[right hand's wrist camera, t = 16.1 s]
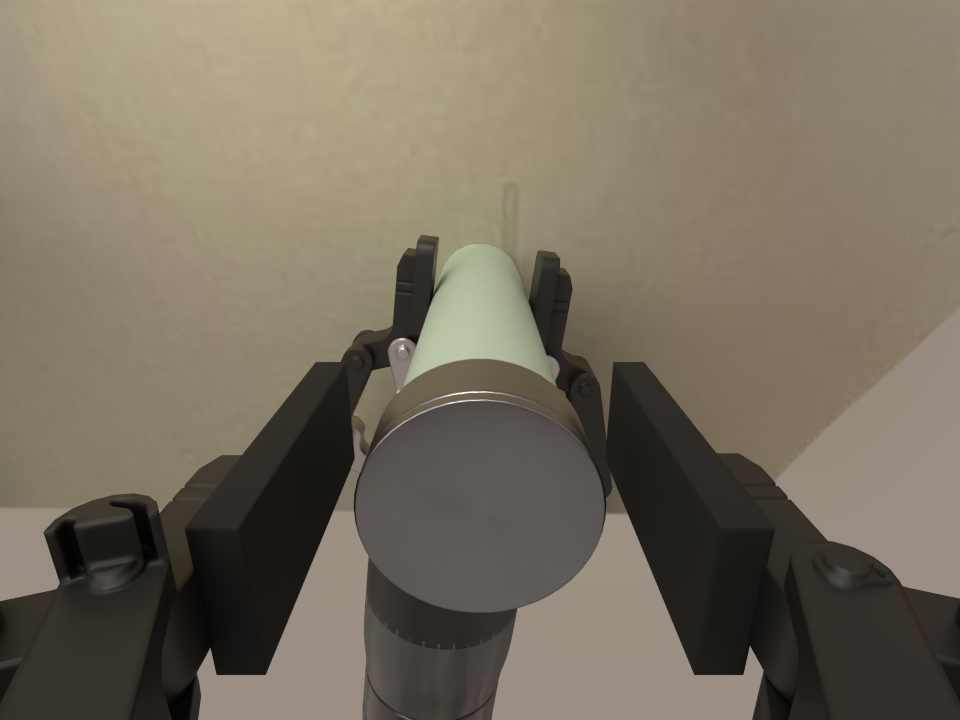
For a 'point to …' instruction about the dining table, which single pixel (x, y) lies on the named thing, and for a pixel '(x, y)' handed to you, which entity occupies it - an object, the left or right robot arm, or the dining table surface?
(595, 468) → the lid
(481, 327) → the pale green bottle
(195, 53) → the dining table surface
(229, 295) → the dining table surface
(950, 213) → the dining table surface
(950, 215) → the dining table surface
